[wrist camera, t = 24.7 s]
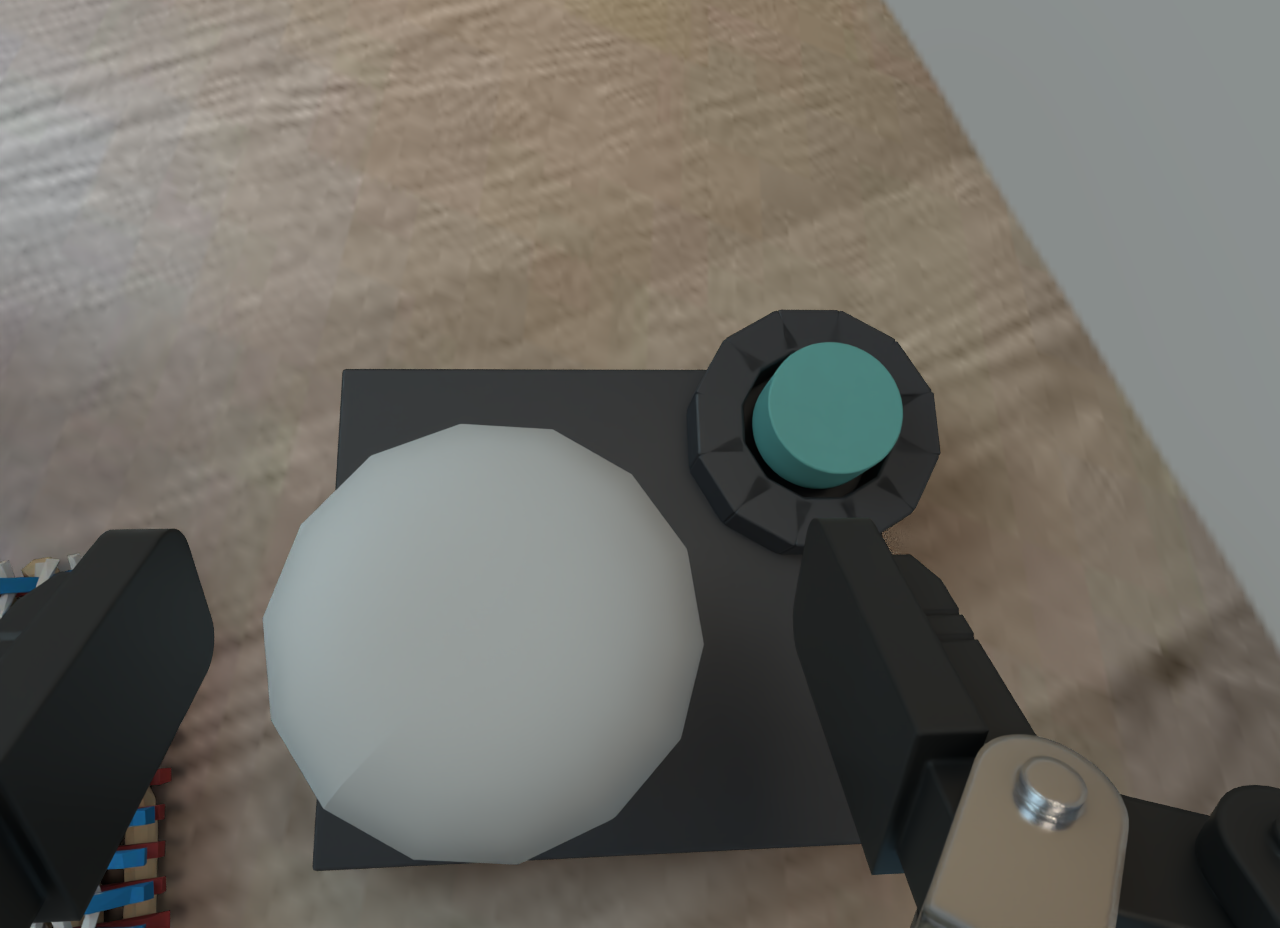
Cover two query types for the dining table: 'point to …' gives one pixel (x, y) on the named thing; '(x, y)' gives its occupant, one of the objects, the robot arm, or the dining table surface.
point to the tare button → (827, 415)
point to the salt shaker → (482, 644)
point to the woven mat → (142, 834)
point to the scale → (719, 560)
